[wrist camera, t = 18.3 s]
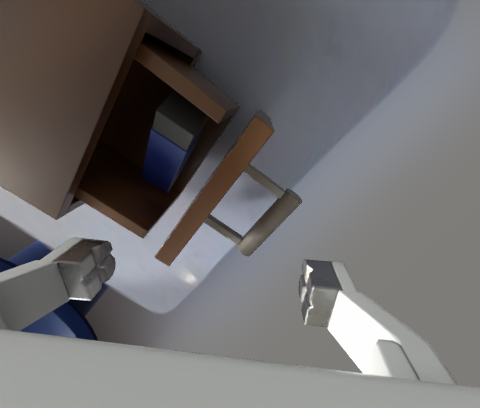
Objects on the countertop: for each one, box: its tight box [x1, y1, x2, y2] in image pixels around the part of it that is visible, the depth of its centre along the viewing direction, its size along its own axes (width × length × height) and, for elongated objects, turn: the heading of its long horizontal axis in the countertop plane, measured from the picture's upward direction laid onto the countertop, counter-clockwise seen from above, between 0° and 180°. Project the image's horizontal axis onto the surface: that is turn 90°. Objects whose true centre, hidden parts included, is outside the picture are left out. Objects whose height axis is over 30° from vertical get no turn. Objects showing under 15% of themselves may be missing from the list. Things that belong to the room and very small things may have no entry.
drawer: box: [74, 32, 302, 266], centre depth 17 cm, size 18×11×8 cm, turn 54°
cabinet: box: [0, 0, 201, 220], centre depth 15 cm, size 15×13×10 cm
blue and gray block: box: [141, 90, 209, 192], centre depth 16 cm, size 8×2×2 cm
